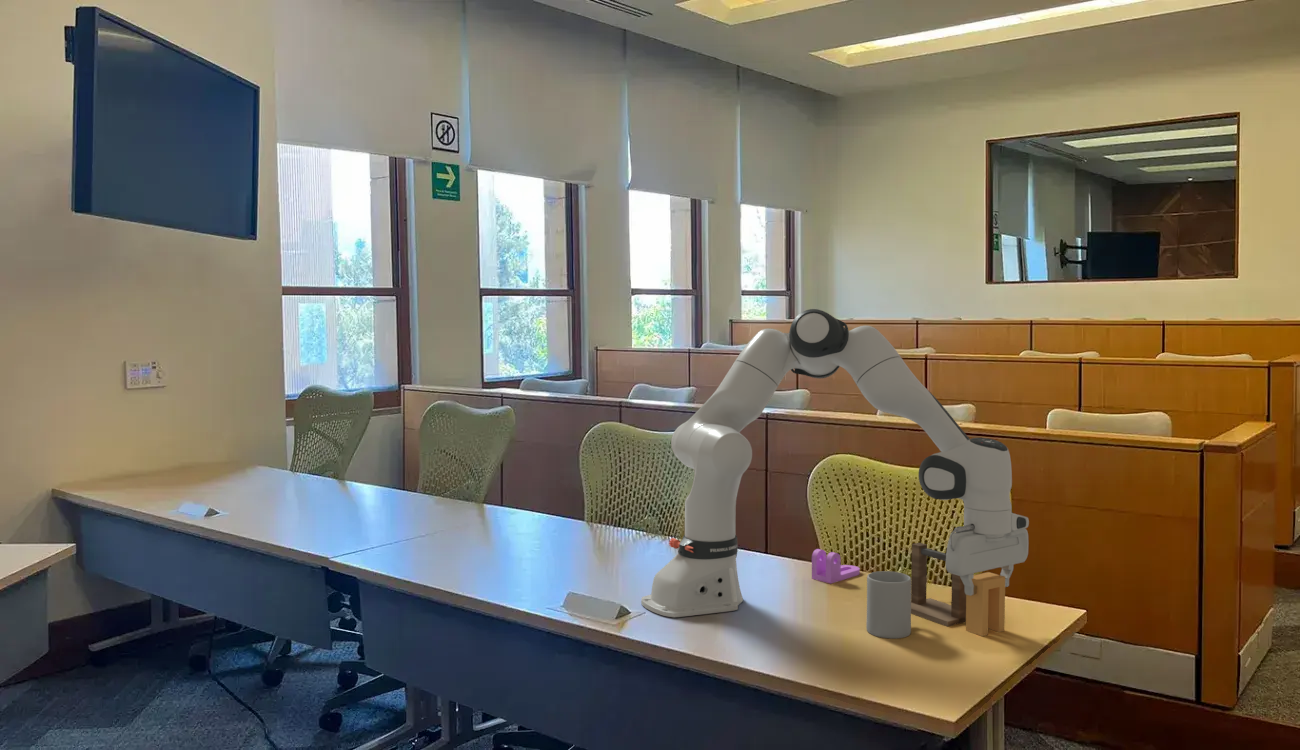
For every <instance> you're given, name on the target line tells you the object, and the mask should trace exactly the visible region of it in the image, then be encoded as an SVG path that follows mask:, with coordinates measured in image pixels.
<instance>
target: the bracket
mask: <svg viewBox="0 0 1300 750" xmlns="http://www.w3.org/2000/svg"><path fill="white" fill-rule="evenodd" d="M841 562H842V561H841V555H840V553H837V552H834V551H831V552H828V554H827V552H826V551H825V550H824V549H820V548H816V549H814V550H813V552H812V554H811V579H812V580H814V581H815V580H816V581H819V582H824V583H827V584H830V585H831V584H833V583H837V582H841V581H845V580H847V579H850V578H851V579H852V578H854V577H856V576H859V575H860V567H859V566H855V565H851V564H841Z"/></svg>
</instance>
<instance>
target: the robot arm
mask: <svg viewBox="0 0 1300 750" xmlns="http://www.w3.org/2000/svg"><path fill="white" fill-rule="evenodd" d="M791 322H792V323H791V325H790V327H789V331H788V332H783V331H781V330H779V329H775V328H763V329H760V330H759V331H758V332H757V333H755V335H754V336H753V337H752V338H751V339H750V340H749V341H748V343H747V344H746V345H745V346H744V348H743V349H742V350H741V351H740V353H739V354H738V356H737V357H736V359H735V360H734V362H733V364H732V366H731V367H730V368H729V370H728V371H727V373H726V374H725V376H724V378H723V379H722V381H721V382H720V384H719V385H718V387H717V388H716V390H715V391H714V392H713V394H712V395H711V396H709V398H708V399H707V400H706V401H705V402H704V403H703V404H702V405H701V407H699V408H698V409H697V410H696V412H695V413H693V415H692V416H691V417H690V418H689V419H688V420H686V421H685V422H683V423H682V424H680V425H679V426H678V427H677V428H676V429H675V430H674V432H673V434H672V437H671V440H670V441H671V443H670V446H671V450H672V453H673V455H674V456H675V457H676V459H678V461H679V462H681V464H683V465H684V466H686V467H688V468H690V469H692V470H693V471H694V476H693V482H692V485H691V489H690V492H689V494H688V496H687V497H686V499H685V501H684V535H683V536H682V539H681V541H680V540H679V539H676V538H675V537H671V538H670V539H669V541H668V545H669V546H670V548H672V549H673V548H674V549H677V554H676V555H675V556H674V557H673V558H672V559H671V560H670V561H669V562H668V563H666V564H665V565H664V567H661V569H660V570H659V571H657V573H656V574H655V575H654V577H653V580H652V585H651V594H647V595H644V596H641V599H640V600H641V601H640V603H641V605H642V607H644V608H645V609H646V610H648V611H650V612H652V613H655V614H657V615H661V616H664V617H669V618H684V617H691V616H699V615H708V614H716V613H726V612H732V611H737V610H738V609H739V605H741V603H742V602H743V600H744V598H743V595H742V591H741V588H740V582H739V575H738V567H737V555H738V551H739V550H738V549H739V548H738V536H737V535H736V515H737V514H736V507H737V506H736V505H737V497H738V492H739V488H740V484H741V480H742V477H743V475H744V473H745V472H746V471H747V470H748V468H749V467H750V465H751V463H752V459H753V448H752V445H751V443H750V441H749V440H748V439H747V438H746V437H745V435H743V434H742V433H741V432H742V431H743V429H745V428H746V427H747V426H748V425H750V424H751V423H752V422H754V421H756V420H757V419H759V417H761V414H762V413H763V412H764V410H765V408H766V407H767V405H768V403H769V402H770V400H771V399H772V397H773V395H774V393H775V392H776V391H777V389H778V387H779V386H780V384H781V382H782V380H783V379H784V378H785V376H786V374H787V373H788V372H790V371H791V372H792V373H794V374H795V375H802V376H806V377H809V378H813V379H826V378H829V377H831V376H833V375H834V374H835V373H837V371H838V370H839V369H840V368H842V369H844V370H845V371H846V372H847V373H848V374H849V375H850V376H851V379H853V382H854V383H855V384H856V387H857V388H858V390H859V391H860V392H861V393H860V394H861V395H862V396H863V397H864V398H865V400H867V402H868V403H869V404H870V405H871V406H872V407H873V408H874V409H876V410H877V411H880V412H883V413H886V414H891V415H895V416H899V417H902V418H904V419H907V420H909V421H912V422H914V423H915V424H917V425H918V426H919V427H920V428H922V430H923V431H924V432H925V433H926V435H927V436H928V437H929V439H931V440H932V442H933V443H934V444H935V446H936V447H937V448H938V449H939V452H936V453H933V454H931V455H929V456H927V457H924V459H923V460H922V461H921V464H920V466H919V468H918V482H919V484H920V486H921V488H922V490H923V492H925V494H926V495H927V496H929V497H930V498H932V499H935V500H939V501H940V500H941V501H948V500H955V499H959V500H962V502H963V526H960V525H959V526H956V527H955V528H954V530H952V532H951V533H950V534H949V539H948V540H947V547H946V552H945V553H946V561H945V569H946V571H947V573H949V574H951V575H952V574H954V575H958V576H960V578H961V580H962V582H963V584H964V585H965V594H967V595H970V596H971V595H975V594H976V593H977V591H976V590H977V586H975V585H973V582H972V579H973V577H974V575H975V574H978V573H981V572H982V573H983V572H985V571H989V570H995V569H999V568H1001V571H1000V574H999V575H1001V576H1005V588H1007V587H1010V578H1011V576H1012V573H1013V571H1014V565H1016V564H1017V565H1018V564H1020V563H1025V561H1026V560H1027V558H1028V555H1029V533H1028V530H1027V528H1028V527H1029V524H1030V521H1029V517H1028V516H1024V515H1021V514H1016V513H1013V511H1012V509H1013V508H1012V501H1011V495H1010V493H1011V489H1012V487H1013V486H1012V485H1013V475H1012V474H1013V472H1012V461H1011V460H1012V459H1011V454H1010V450H1009V448H1008V446H1007V445H1005V443H1003V442H1001V441H999V440H996V439H993V438H988V437H972V438H970V437H969V436H968V435H967V434H966V433H965V432H964V430H963V429H962V427H960V425H959V424H958V423H957V422H956V420H955V419H954V418H953V417H952V415H951V414H950V413H949V411H947V409H946V408H945V407H944V406H943V404H942V403H941V402H940V401H939V400H938V399H937V398H936V396H935V395H934V394H932V392H930V390H929V389H928V388H926V386H924V384H922V382H921V381H920V380H919V379H918V378H917V377H916V375H915V374H914V373H913V372H912V370H911V369H910V367H908V365H907V364H906V362H905V361H904V359H903V358H902V356H901V355H900V354H899V352H898V351H897V350H896V349H895V347H894V345H892V344H891V342H890V341H889V340H888V339H887V338H886V336H884V335H883V334H882V333H881V332H880V330H878V329H877V328H875V327H874V326H871V325H860V326H857V327H854V328H852V329H851V330H849V327H848V324H847V323H846V322H845V321H843V320H840V319H838V318H836V317H834V316H833V315H832V314H829V312H826V311H824V310H821V309H819V308H818V309H817V308H816V309H815V308H810V309H806V310H803V311H801V312H800V313H799V314H798V315H796V317H794V319H793V321H791Z"/></svg>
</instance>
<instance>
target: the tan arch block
mask: <svg viewBox="0 0 1300 750" xmlns="http://www.w3.org/2000/svg"><path fill="white" fill-rule="evenodd" d="M972 582H973V585H975V586H977V590H976V591H977V593H976V594H975V595H971V596H970V595H967V594H966V622H965V631H967V632H968V633H972V634H975V635H977V636H980V637H985V636H988V635H989V630H992V631H995V632H998V633H1000V632H1004V631H1005V623H1006V621H1005V619H1006V618H1005V617H1006V616H1005V615H1006V614H1005V613H1006V612H1005V611H1006V610H1005V609H1006V608H1005V607H1006V605H1005V604H1006V602H1005V601H1006V587H1005V576H1001V575H1000V574H997V573H993V572H990V571H987V572H982V573H976V574H974V577H973V579H972Z"/></svg>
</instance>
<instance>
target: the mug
mask: <svg viewBox="0 0 1300 750" xmlns="http://www.w3.org/2000/svg"><path fill="white" fill-rule="evenodd" d="M865 623H866V624H865V625H866V626H865V627H866V632H867V633H868V634H870V635H872V636H875V637H877V638H882V639H902V638H903V639H904V638H906V637H908V636H910V635H911V633H912V614H911V576H910V575H908V574H907V573H902V572H898V571H889V570H888V571H886V570H883V571H881V570H880V571H873V572H871V573H868V574H867V577H866V622H865Z"/></svg>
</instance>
